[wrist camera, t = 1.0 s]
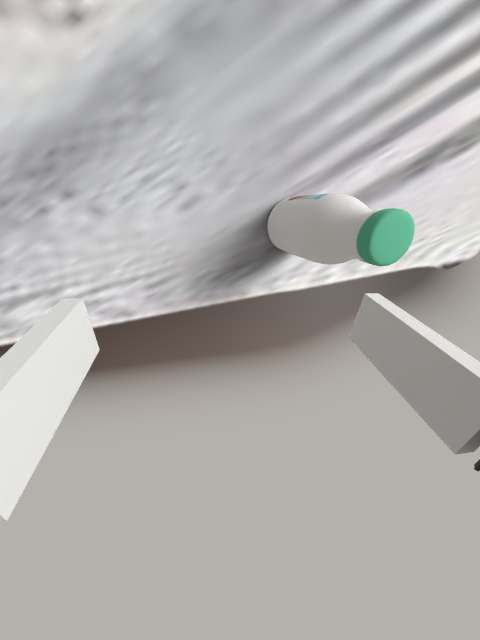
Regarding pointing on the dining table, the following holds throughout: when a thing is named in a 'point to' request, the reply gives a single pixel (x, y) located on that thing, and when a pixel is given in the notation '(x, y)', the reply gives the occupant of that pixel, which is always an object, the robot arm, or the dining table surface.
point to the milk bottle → (339, 230)
